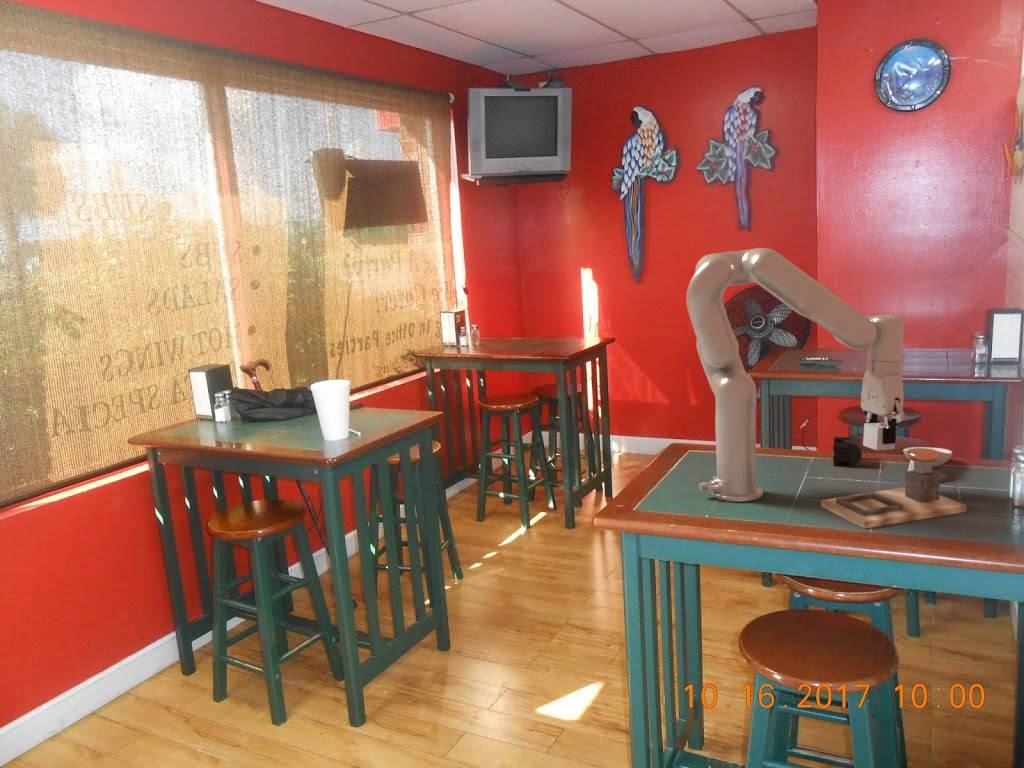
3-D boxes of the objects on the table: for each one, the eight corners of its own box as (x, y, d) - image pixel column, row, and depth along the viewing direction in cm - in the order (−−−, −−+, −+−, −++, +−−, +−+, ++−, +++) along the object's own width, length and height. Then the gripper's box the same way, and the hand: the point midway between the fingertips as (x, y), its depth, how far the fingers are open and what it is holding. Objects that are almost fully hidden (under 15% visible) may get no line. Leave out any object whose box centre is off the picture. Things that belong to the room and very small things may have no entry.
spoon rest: (906, 457, 226) (906, 431, 225) (954, 460, 220) (955, 435, 218) (892, 480, 207) (892, 453, 206) (944, 485, 200) (945, 457, 199)
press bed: (864, 528, 176) (864, 495, 175) (820, 506, 191) (820, 475, 190) (966, 511, 182) (967, 479, 180) (916, 491, 197) (916, 461, 196)
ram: (920, 486, 183) (920, 457, 182) (900, 479, 190) (901, 450, 188) (944, 483, 185) (945, 453, 184) (924, 475, 191) (925, 446, 190)
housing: (876, 450, 195) (878, 426, 194) (862, 445, 199) (864, 422, 198) (894, 448, 196) (896, 425, 195) (880, 444, 201) (882, 421, 200)
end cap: (861, 468, 218) (861, 444, 217) (833, 467, 221) (833, 443, 220) (861, 458, 227) (861, 434, 226) (834, 457, 230) (834, 434, 229)
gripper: (848, 362, 202) (845, 434, 205) (894, 373, 185) (891, 450, 188) (874, 360, 203) (871, 431, 206) (923, 371, 187) (919, 447, 190)
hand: (880, 439), depth 197 cm, fingers closed on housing, 5 cm apart
